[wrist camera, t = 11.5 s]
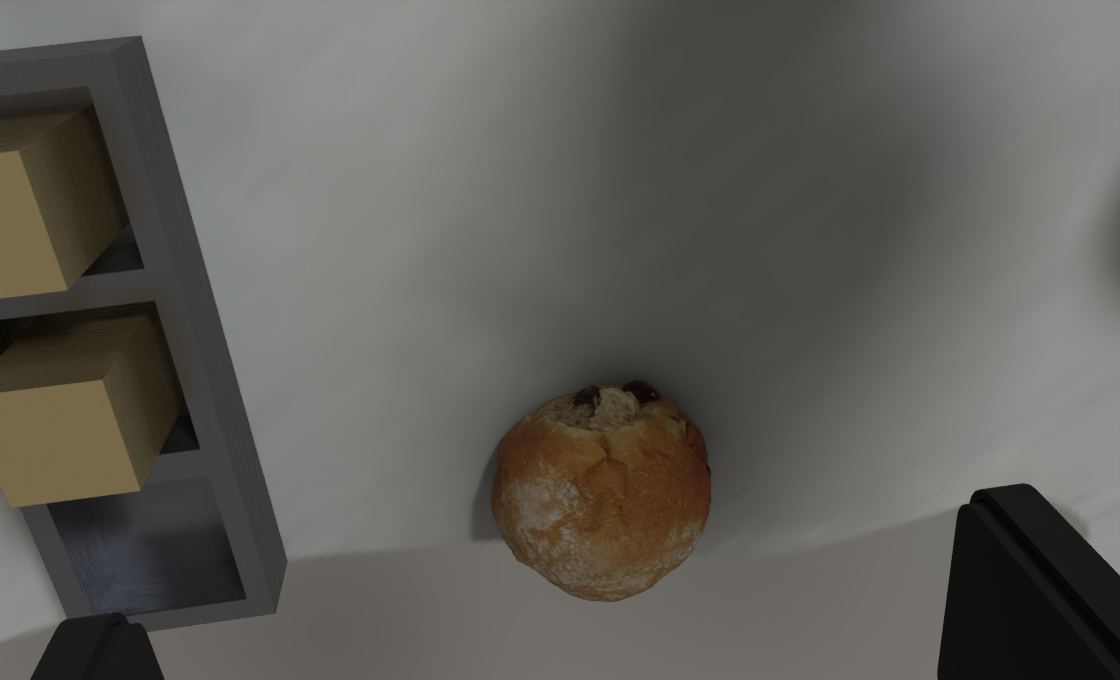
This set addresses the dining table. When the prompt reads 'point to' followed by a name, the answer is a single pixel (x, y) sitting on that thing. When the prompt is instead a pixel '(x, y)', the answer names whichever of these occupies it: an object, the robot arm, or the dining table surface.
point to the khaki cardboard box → (54, 197)
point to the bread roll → (603, 490)
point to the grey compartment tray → (201, 363)
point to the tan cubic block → (85, 404)
